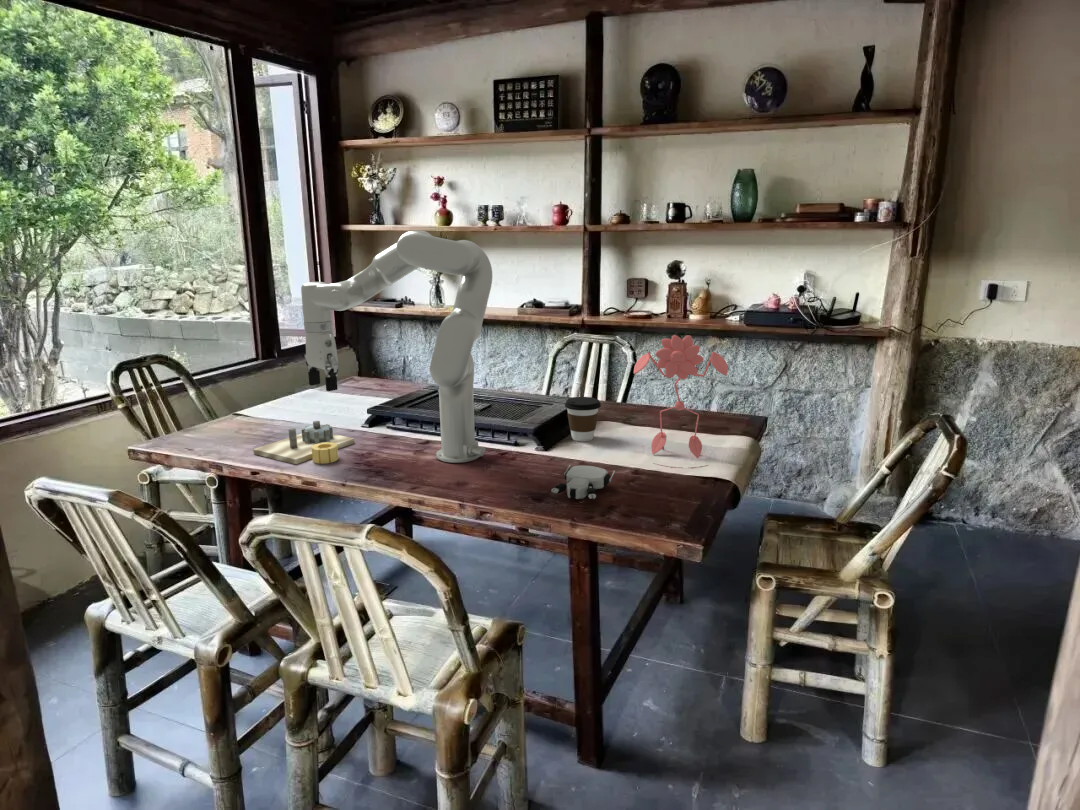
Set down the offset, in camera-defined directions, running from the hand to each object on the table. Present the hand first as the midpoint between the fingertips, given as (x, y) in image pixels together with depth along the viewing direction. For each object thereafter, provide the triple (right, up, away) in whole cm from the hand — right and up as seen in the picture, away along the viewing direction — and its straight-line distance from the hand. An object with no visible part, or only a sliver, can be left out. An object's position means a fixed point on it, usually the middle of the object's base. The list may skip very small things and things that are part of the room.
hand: (323, 387), depth 197 cm
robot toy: (+72, -27, -25) cm, 81 cm away
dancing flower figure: (+99, -20, -3) cm, 101 cm away
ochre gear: (+1, -20, -1) cm, 20 cm away
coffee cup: (+74, -15, +16) cm, 78 cm away
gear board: (-8, -18, +9) cm, 22 cm away
